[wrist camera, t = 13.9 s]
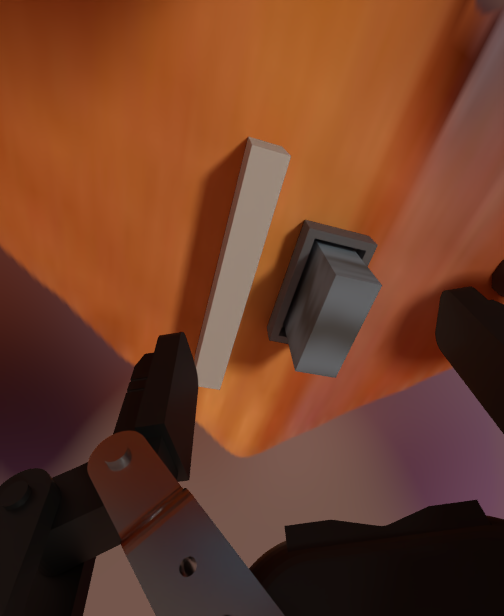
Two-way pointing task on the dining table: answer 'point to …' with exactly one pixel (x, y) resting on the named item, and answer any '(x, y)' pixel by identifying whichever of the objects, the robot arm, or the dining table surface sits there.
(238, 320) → the door board
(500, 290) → the ice cream bowl
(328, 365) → the block
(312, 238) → the cradle
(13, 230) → the dining table surface
